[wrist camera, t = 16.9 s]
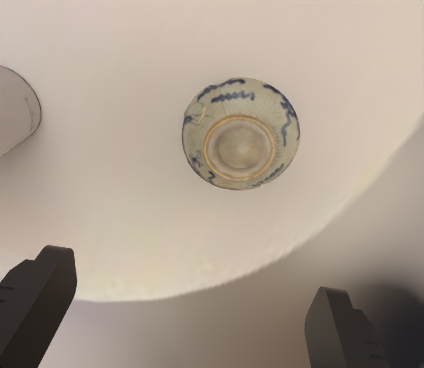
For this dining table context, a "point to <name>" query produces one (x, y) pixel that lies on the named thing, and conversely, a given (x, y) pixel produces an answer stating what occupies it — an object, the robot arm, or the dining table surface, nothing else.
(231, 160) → the decorative bowl
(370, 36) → the dining table surface
